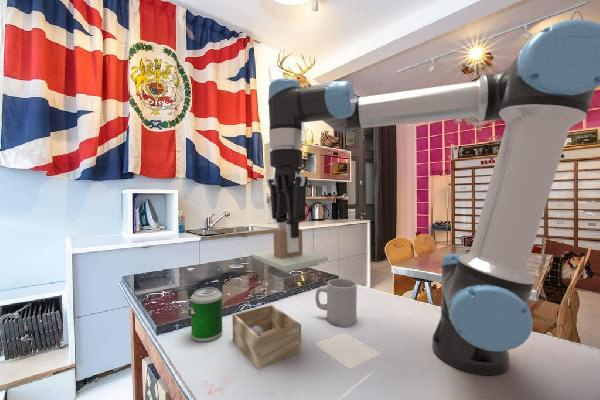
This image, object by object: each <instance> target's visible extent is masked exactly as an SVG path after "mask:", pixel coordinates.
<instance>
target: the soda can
mask: <svg viewBox="0 0 600 400" xmlns="http://www.w3.org/2000/svg"><path fill="white" fill-rule="evenodd" d="M190 313H191V316H190V317H191V318H190V319H191V320H190V321H191V338H192V339H193V341H196V342H200V343H207V342H208V343H209V342H211V341H214V340H217V339H218V338H220V337H221V335H222V333H223V293H222V292H221V291H220V290H219V288H216V287H202V288H200V289H197V290H195V291H194V292H193V294H192V295H191V297H190Z"/></svg>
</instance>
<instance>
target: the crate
mask: <svg viewBox="0 0 600 400" xmlns="http://www.w3.org/2000/svg"><path fill="white" fill-rule="evenodd" d="M255 326H258V327H261V328H262V330H263V332H266V331H268V330H271V329H275V330H277V331H275V332H272V333H269V334H265V335H262V336H258V335H257V334H256V333H255V332H254V331H253V330H252V328H253V327H255ZM232 341H233V342H234V344H235V345H236V346H237V347H238V348H239V349H240V350H241V351H242V352H243V354H244V355H245V356H246V357H247V358H248V359H249V361H251V362H252V364H253V365H254V366H255V367H256V368H257V369H261V368H264V367H266V366H269V365H271V364H274V363H277V362H279V361H282V360H284V359H286V358H287V359H288V358H289V357H292V356H295V355H297V354H300V353H302V324H301V323H300V322H298V321H297V320H296V319H294V318H292V317H290V316H289V315H288V314H286V313H285V312H283V311H282V310H280V309H279V308H278V307H276V306H275V305H273V304H269V305H264V306H261V307H260V306H259V307H257V308H253V309H249V310H244V311H241V312H237V313H233V314H232Z"/></svg>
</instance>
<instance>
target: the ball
mask: <svg viewBox="0 0 600 400" xmlns="http://www.w3.org/2000/svg"><path fill="white" fill-rule="evenodd" d="M252 330H253V331H254V332H255V333H256V334H257V335H258V336H259V334H261V333H264V332H263V330H262V328H261V327H258V326H255V327H253V328H252Z"/></svg>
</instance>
